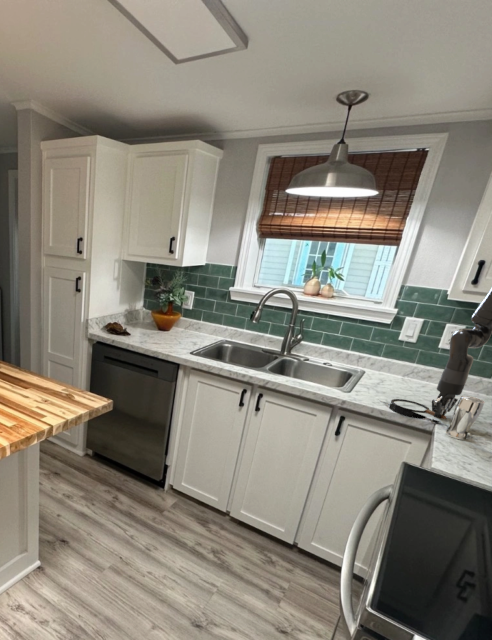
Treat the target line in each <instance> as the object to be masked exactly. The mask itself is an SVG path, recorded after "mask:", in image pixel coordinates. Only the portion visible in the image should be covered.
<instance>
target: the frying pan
mask: <svg viewBox="0 0 492 640" xmlns="http://www.w3.org/2000/svg"><path fill="white" fill-rule="evenodd" d="M395 402H406V403H411V404H414V405H417V406H419V407H422V408H424V409H425V410H417V409H412V408H407V407H405V406H401V405H399V404H397V403H395ZM388 407H389V408H388V409H389V410H391V411H392V412H393V413H396V414H398V415H401V416H403V417H407V418H411V419H417V420H418V419H419V420H424V419H426V418H427V417H428V416H425V415H423V414H424V413H426V414H428V415H431V416H434V414H435V412H433V411H432V410H430V408H429V407H428V406H426V405H425V404H422V403H419V402H417V401H414V400H408V399H402V398H393V399H391V400H390V404H389V406H388ZM420 413H423V414H420ZM423 418H424V419H423ZM427 419H428V418H427ZM440 419H442V420H446V419H447V416H446V415H445V416H444V415H442V416H441V418H440Z"/></svg>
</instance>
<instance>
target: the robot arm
mask: <svg viewBox="0 0 492 640" xmlns="http://www.w3.org/2000/svg"><path fill="white" fill-rule="evenodd" d="M470 321H471V322H472V323H473V324H474V326H473V328H459V329H456V331H454V333H452V335H451V336H450V340H449V351H448V352H449V353H448V354H449V356H448V359H447V361H446V365H445V367H444V369H443V371H442V373H441V376H440V379H439V381H438V383H437V386H436V390H437V391H438V392H439V394H438V395H437V397H436V399H432V400H431V411H433V412H435V414H434V415H433V418H436V419H433V418H432V419H431V421H432V423H436V424H439V423H440V420H437V419H442V418H441V416H442V415H444V416H446V414H447V413H449V412H451V410H452V409H453V408H454V406H455V405H456V404H457V403H458V402H459V398H456V396H460V395H462V393H463V391H464V388H465V386H466V383H467V381H468V378H469V373H470V371H471V368H472V366H473V363H474V357H473V356H472V355H471V354H468V351H469V350H468V349H479V348H482V347H483V346H485V344H487V343H488V341H489V340H490V338H491V336H492V287H491V288H490V290H489V291H488V292H487V294H486V295H485V297H484V298H483V299H482V301H481V302H480V303H479V305H478V307H477V308H476V309H475V310H474V312H473V313H472V315H471V317H470Z"/></svg>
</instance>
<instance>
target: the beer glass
mask: <svg viewBox="0 0 492 640" xmlns="http://www.w3.org/2000/svg"><path fill="white" fill-rule="evenodd" d="M485 403H486V402H485V400H483V399H480V398H477V397H474V396H470V395H461V396H460V398H459V399H458V401H457V402H456V404H455V405H456V406H455V408H454V411H453V415H452V420H451V423H450V426H449V427H448V428H447V430H446V431H445V435H447V436H448V437H450V438H452V439H456V440H460V441H465V440H467V438H468V435H469V431H470V429H471V428H472V427H473V425H474V424H475V423H476V421H477V420H478V418H479V416H480V415H481V414H482V410H483V408H484V405H485Z"/></svg>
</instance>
